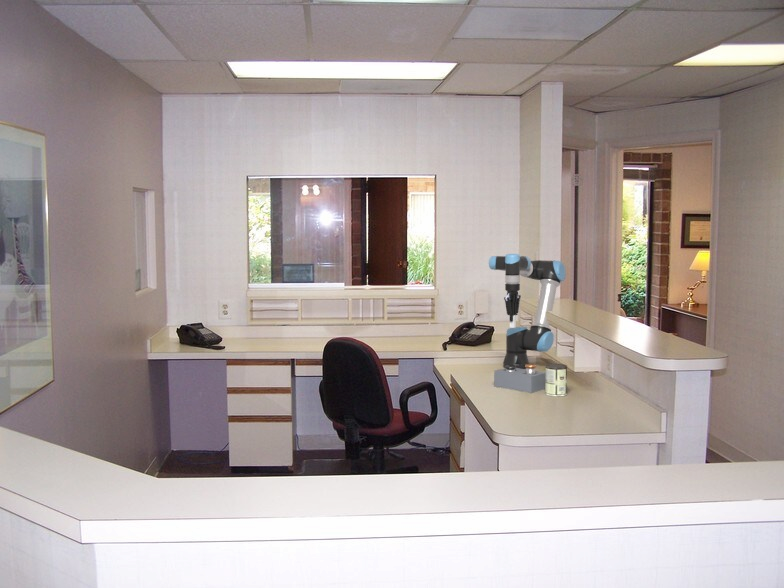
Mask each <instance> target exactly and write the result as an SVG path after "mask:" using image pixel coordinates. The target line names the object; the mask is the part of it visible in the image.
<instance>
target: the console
mask: <svg viewBox="0 0 784 588" xmlns="http://www.w3.org/2000/svg"><path fill="white" fill-rule="evenodd" d="M545 373H546V371H540V370H539V371H538V370H535V374H534V375H529V374H526V369H520V368H516V369H515V371H513V372H510V371H506V368H505V367H503V368H500V369H497V370H494V371H493V376H494V377H493V387H495V386H496V388H500V387H501V388H503V389H505V390H506V389H507V390H512V391H513V390H514V391H518V392H524V393H529V394H533V393H536V392H540V391H543V390H545ZM501 388H500V389H501Z"/></svg>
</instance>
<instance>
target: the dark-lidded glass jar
mask: <svg viewBox="0 0 784 588" xmlns="http://www.w3.org/2000/svg"><path fill="white" fill-rule="evenodd" d="M504 368H506V371H510V372H513V371H515V369H516V366H513V365H507V366H505V367H504Z"/></svg>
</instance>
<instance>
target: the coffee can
mask: <svg viewBox="0 0 784 588" xmlns="http://www.w3.org/2000/svg"><path fill="white" fill-rule="evenodd" d="M544 366H545V367H544V368H545V372H546V373H545V389H544V390H545V393H544V394H545V396H550V397H558V398H559V397H565V396H567V395H568V393H567V392H568V391H567V389H568V387H567V386H568V384H567V383H568V381H567V379H568V365H567V364H563V363H547V364H545V365H544Z"/></svg>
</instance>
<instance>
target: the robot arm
mask: <svg viewBox="0 0 784 588" xmlns="http://www.w3.org/2000/svg"><path fill="white" fill-rule="evenodd" d="M488 267H489V269H491V270H494V271H502V272H503V271H504V272H505V274H504V275H505V277H504V278H505V279H504V281H505V284H504V285H505V291H506V296H505V297H504V298H503V300H504V304H505V309H506V315H507V316H509V328H508V329H506V335H505V337H506V341H505V342H506V347H505V349H506V352H505V355H504V359H503V362H502V367H503V368H505V366H507V365H513V366H516V368H520V369H526V367H525V365H526V364H531V363H530V359H529V357H528V354H527V353H528V352H527V351H533V352H542V353H543V352H544V353H545V352H548V351H549V350H551V348H552V347H553V344H554V341H555V339H554V337H555V335H554V333H553V331H552V329H551V327H550V324H551V323H550V324H549V323H548V321H547V316H546V312H547V311H552V312H553V308H554V303H555V297H556V292H557V289H558V287H559V286H560V285H561V282H564V281H565V279H566V267H565V264H564V263H563V262H562V261H560V260H540V259H538V260H531V259H530V258H529V257H528V256H525V255H521V256H520V254H519V253H506V254H505V255H493V256H491V257H489V260H488ZM520 276H522V277H524V278H528V279H531V280H535V281H539V283H540V285H541V286H540V291H539V292H540V293H539V298H538V301H537V308H536V312H535V317H534V323H533V324H531V325H530V328H529V329H528V327H527V326H516V325H517V323H516V319H517V317H516V316H518V315H519V314H518V313H519V309H520V308H519V307H520V301H521V295H520V294H519V291H520V289H521V288H520V287H521V286H520V282H521V277H520Z"/></svg>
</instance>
